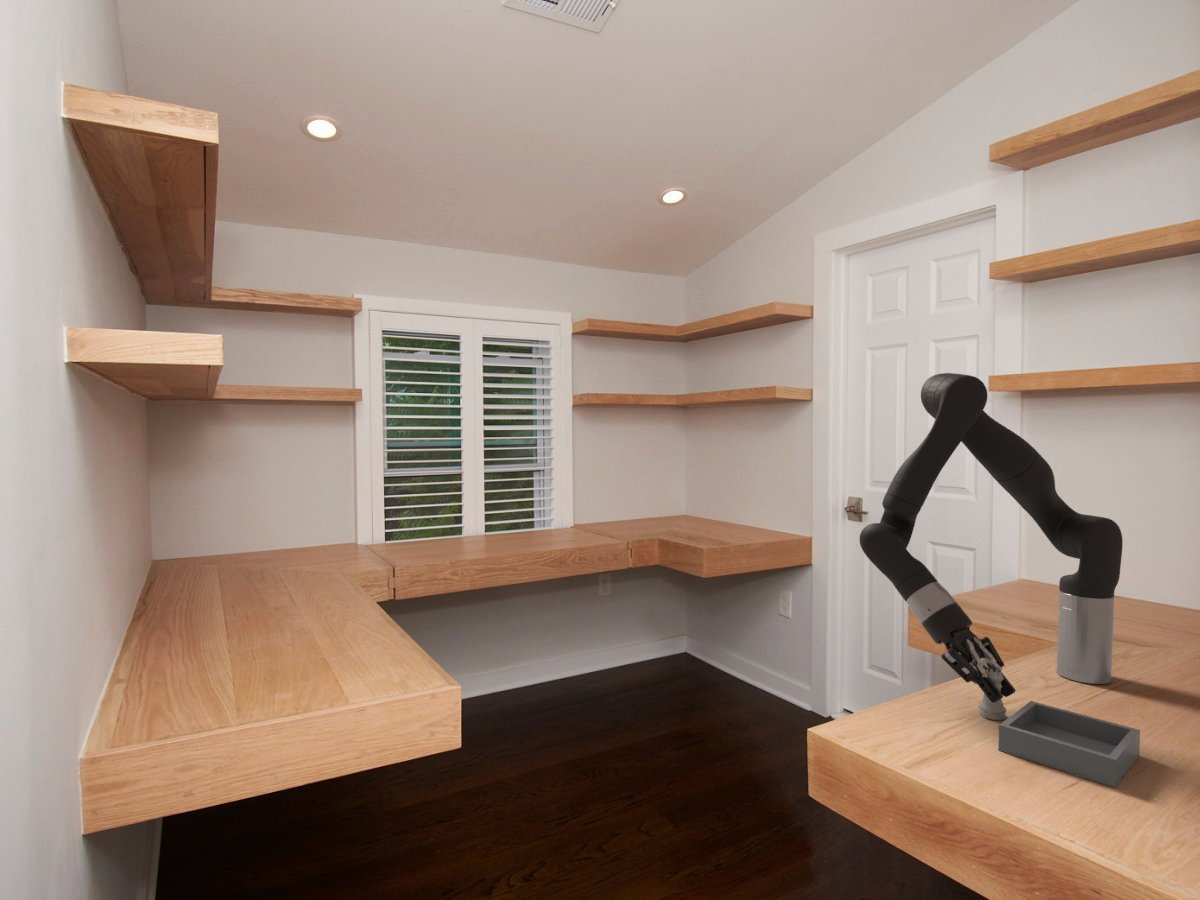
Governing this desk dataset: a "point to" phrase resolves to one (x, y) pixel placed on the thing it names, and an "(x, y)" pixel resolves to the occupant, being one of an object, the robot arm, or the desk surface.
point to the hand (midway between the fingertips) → (1004, 696)
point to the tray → (1070, 742)
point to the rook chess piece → (989, 708)
